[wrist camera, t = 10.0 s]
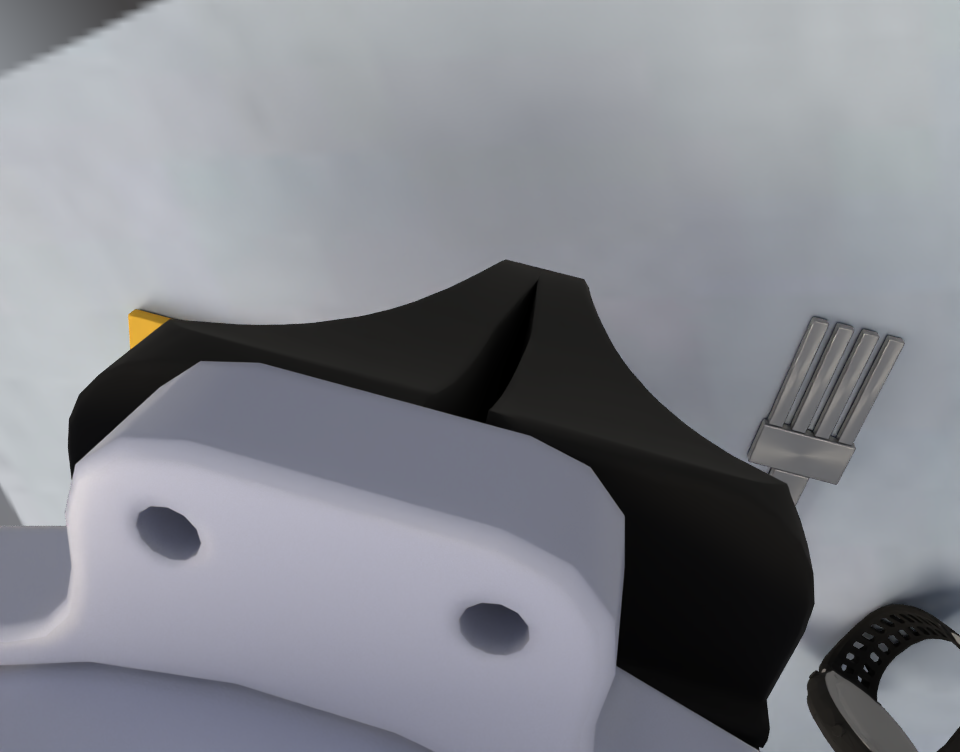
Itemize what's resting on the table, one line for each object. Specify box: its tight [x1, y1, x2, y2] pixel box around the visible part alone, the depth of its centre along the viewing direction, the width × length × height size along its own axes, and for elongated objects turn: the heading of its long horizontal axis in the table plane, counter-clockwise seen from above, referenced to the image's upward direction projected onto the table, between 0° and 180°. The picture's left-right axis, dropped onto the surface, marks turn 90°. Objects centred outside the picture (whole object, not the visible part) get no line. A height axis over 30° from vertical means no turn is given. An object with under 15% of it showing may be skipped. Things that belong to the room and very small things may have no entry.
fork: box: [748, 317, 905, 506], centre depth 23 cm, size 16×2×1 cm, turn 170°
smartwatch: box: [807, 604, 960, 752], centre depth 21 cm, size 4×5×5 cm
